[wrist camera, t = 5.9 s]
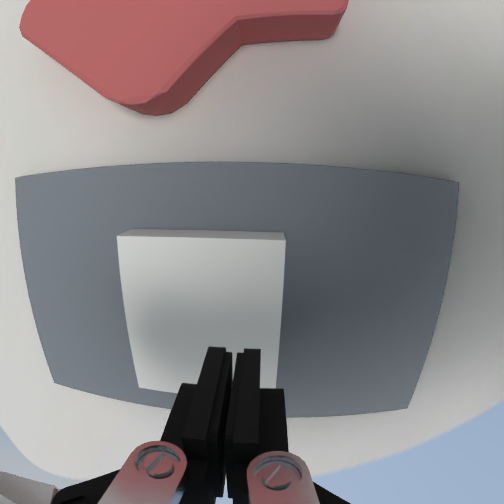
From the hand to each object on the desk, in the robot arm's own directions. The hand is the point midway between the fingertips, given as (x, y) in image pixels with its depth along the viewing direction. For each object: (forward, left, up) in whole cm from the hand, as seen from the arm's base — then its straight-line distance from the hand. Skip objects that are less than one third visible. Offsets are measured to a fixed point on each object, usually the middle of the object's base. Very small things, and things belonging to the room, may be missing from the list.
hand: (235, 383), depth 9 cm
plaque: (+2, -18, -7) cm, 20 cm away
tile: (-2, 0, -4) cm, 5 cm away
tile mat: (+1, 0, -6) cm, 6 cm away
